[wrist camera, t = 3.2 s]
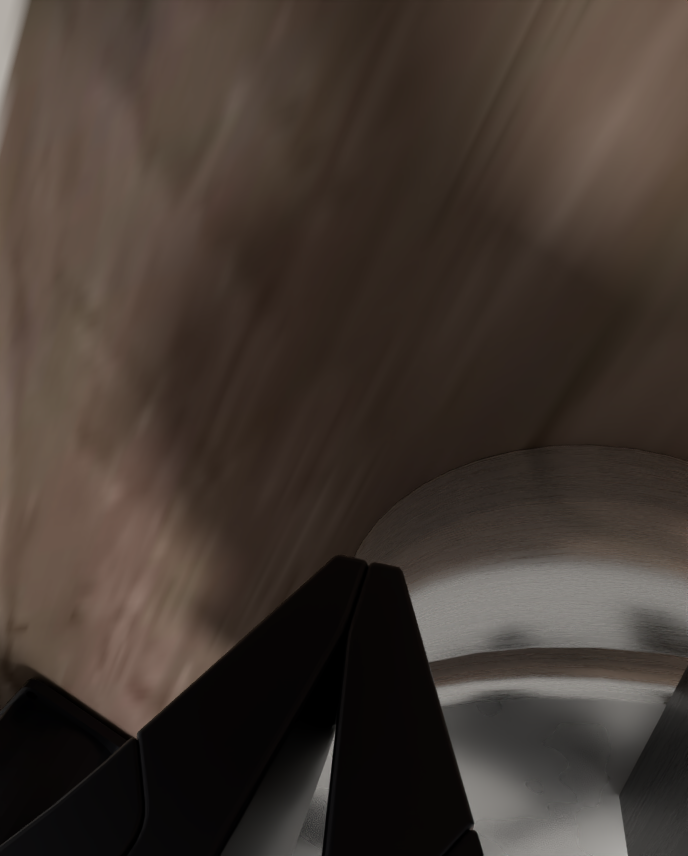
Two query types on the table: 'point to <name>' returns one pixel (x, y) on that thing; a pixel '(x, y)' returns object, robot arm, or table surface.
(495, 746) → the cooker lid
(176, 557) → the table surface
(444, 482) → the pressure cooker pot
